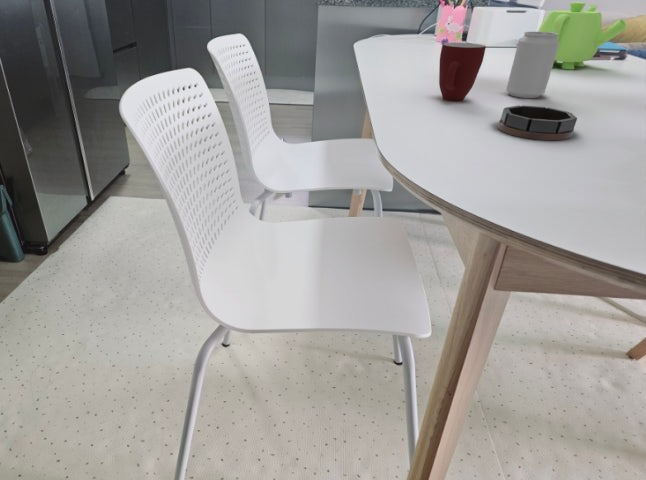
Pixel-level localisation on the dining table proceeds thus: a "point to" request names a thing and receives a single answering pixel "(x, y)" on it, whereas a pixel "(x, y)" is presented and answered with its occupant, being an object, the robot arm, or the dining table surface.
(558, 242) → the dining table surface
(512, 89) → the can
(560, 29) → the teapot
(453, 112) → the dining table surface
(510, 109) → the base pad
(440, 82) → the mug
